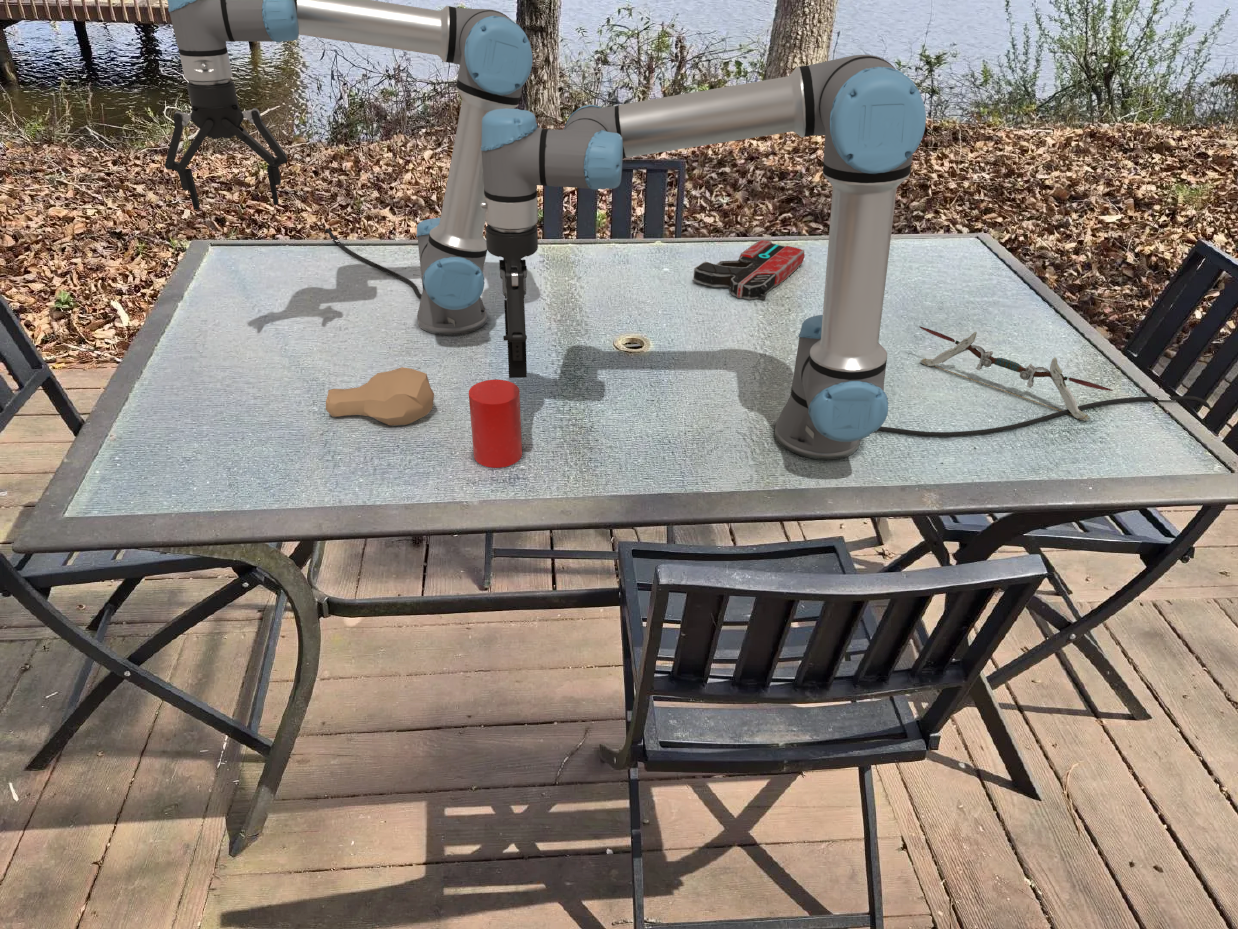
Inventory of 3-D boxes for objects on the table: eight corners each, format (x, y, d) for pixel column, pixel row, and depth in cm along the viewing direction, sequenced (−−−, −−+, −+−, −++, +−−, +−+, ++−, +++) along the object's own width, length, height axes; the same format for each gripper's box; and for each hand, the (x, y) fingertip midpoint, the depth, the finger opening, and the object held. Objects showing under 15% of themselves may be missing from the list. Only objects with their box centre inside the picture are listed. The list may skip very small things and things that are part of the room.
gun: (689, 269, 215) (762, 288, 207) (741, 232, 237) (809, 248, 229) (687, 286, 217) (759, 305, 209) (739, 248, 239) (806, 264, 231)
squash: (434, 432, 158) (421, 393, 152) (327, 440, 160) (310, 402, 153) (443, 394, 166) (431, 355, 160) (341, 402, 167) (325, 364, 161)
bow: (1101, 423, 166) (1119, 376, 160) (1098, 427, 165) (1116, 380, 159) (913, 357, 187) (924, 314, 182) (909, 360, 186) (919, 316, 181)
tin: (466, 463, 150) (460, 399, 143) (484, 438, 157) (479, 376, 150) (512, 471, 148) (509, 407, 141) (529, 445, 155) (526, 383, 148)
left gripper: (125, 87, 142) (160, 216, 154) (286, 82, 149) (308, 206, 161) (132, 78, 148) (165, 203, 160) (287, 74, 155) (308, 194, 167)
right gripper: (484, 198, 137) (490, 323, 148) (486, 255, 116) (493, 395, 128) (532, 197, 138) (534, 322, 149) (543, 254, 117) (545, 393, 129)
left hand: (237, 205), depth 160 cm, fingers open, 13 cm apart
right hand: (515, 356), depth 139 cm, fingers open, 13 cm apart
